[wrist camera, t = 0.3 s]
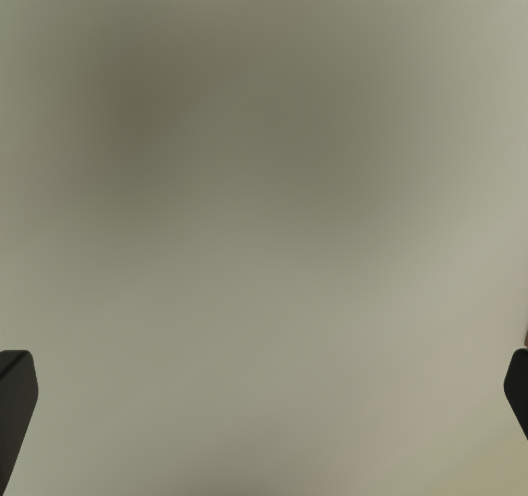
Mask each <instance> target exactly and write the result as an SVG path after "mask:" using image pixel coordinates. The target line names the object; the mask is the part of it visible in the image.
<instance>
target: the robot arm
mask: <svg viewBox="0 0 528 496" xmlns="http://www.w3.org/2000/svg"><path fill="white" fill-rule="evenodd" d="M504 392H505V395H506V398H507V400H508V402H509V404H510V406H511V408H512V410H513V412H514V414H515V416H516V418H517V420H518V422H519V424H520V426H521V428H522V430H523V432H524V434H525V436H526V438H527V440H528V348H520V349H517V350H516V351H515V352H514V353H513V356H512V359H511V362H510V365H509V368H508V371H507V374H506V377H505V380H504ZM37 399H38V383H37V378H36V372H35V367H34V361H33V357H32V355H31V353H30V352H29V351H27V350H4V351H2V352H0V496H3V493H4V491H5V489H6V487H7V484H8V482H9V479H10V476H11V474H12V471H13V468H14V465H15V463H16V460H17V457H18V454H19V451H20V448H21V445H22V443H23V440H24V437H25V434H26V431H27V428H28V425H29V423H30V420H31V417H32V414H33V411H34V408H35V405H36V402H37Z"/></svg>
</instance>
